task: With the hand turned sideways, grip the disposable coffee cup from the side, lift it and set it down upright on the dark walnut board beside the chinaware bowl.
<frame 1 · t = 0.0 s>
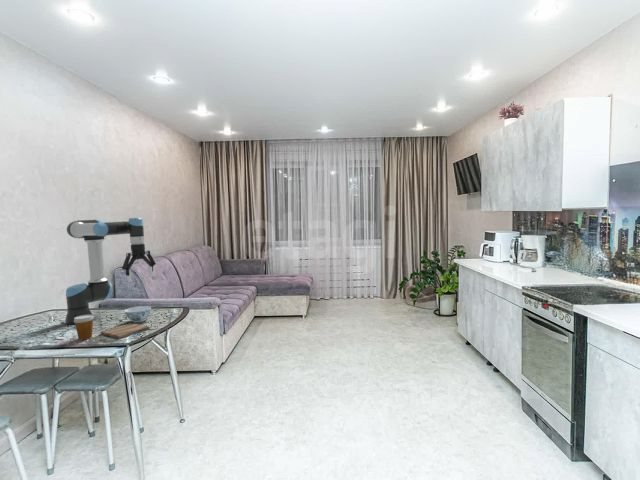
hand: (140, 279, 231), 28 cm above the table, tool pointing down, fingers open, 13 cm apart
chinaware: (138, 321, 242), on the table
walnut board: (125, 331, 220), on the table
disposable coffee cup: (85, 338, 211), on the table
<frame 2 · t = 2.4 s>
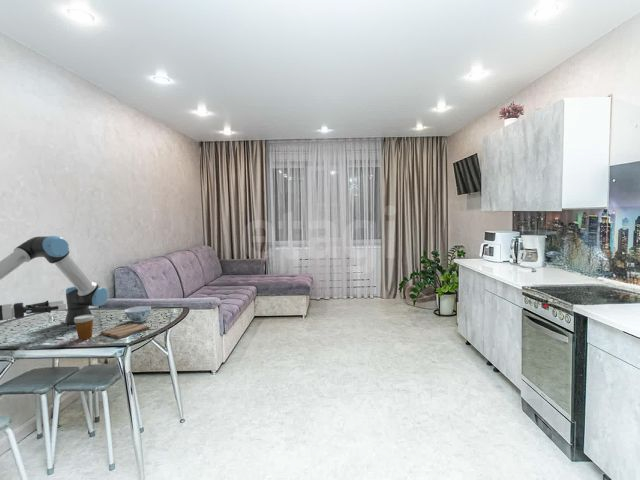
hand: (64, 304, 205), 20 cm above the table, tool horizontal, fingers open, 13 cm apart
nothing on the table moved.
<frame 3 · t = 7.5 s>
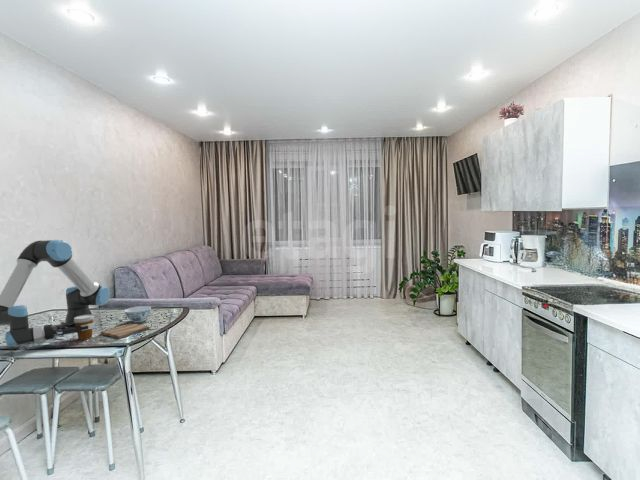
hand: (94, 323, 214), 7 cm above the table, tool horizontal, fingers closed on disposable coffee cup, 8 cm apart
disposable coffee cup: (85, 338, 211), on the table, touching gripper
everything else where it was.
when the fingers open (10 cm above the table, at t = 12.9 s): disposable coffee cup drops 1 cm, point 2 cm above the table.
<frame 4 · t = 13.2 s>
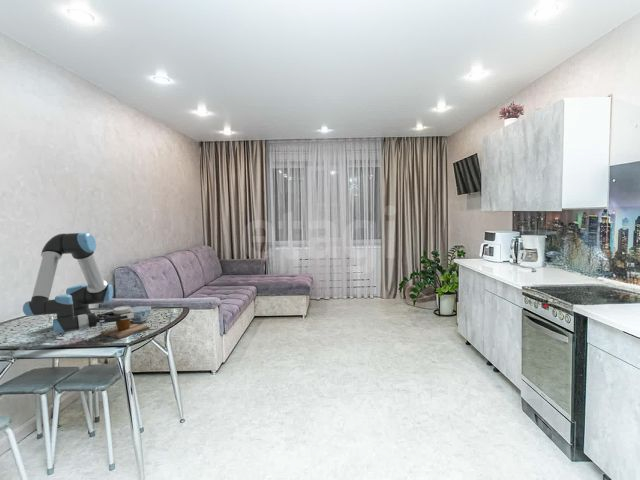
hand: (131, 313, 222), 10 cm above the table, tool horizontal, fingers open, 11 cm apart
disposable coffee cup: (123, 328, 221), point 2 cm above the table, touching gripper
everything else where it was.
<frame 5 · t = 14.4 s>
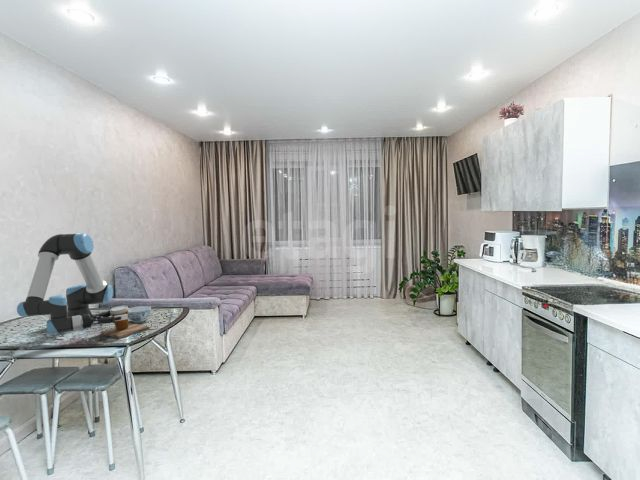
hand: (125, 314, 220), 10 cm above the table, tool horizontal, fingers open, 13 cm apart
disposable coffee cup: (122, 328, 222), point 2 cm above the table, touching gripper, walnut board
everything else where it was.
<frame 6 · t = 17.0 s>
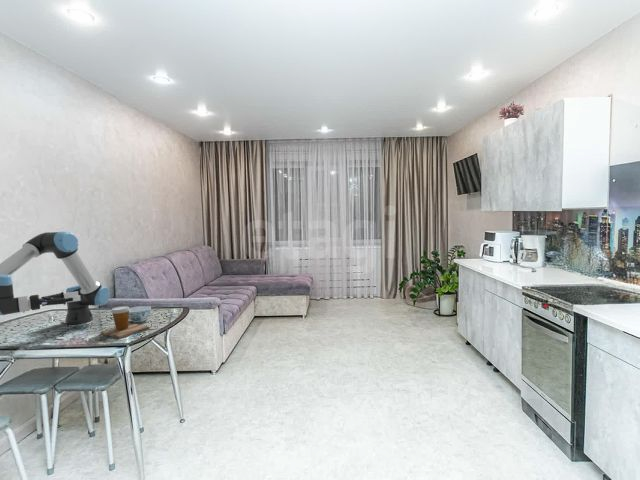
hand: (79, 295, 207), 24 cm above the table, tool horizontal, fingers open, 13 cm apart
disposable coffee cup: (122, 328, 222), point 1 cm above the table, touching walnut board
everything else where it was.
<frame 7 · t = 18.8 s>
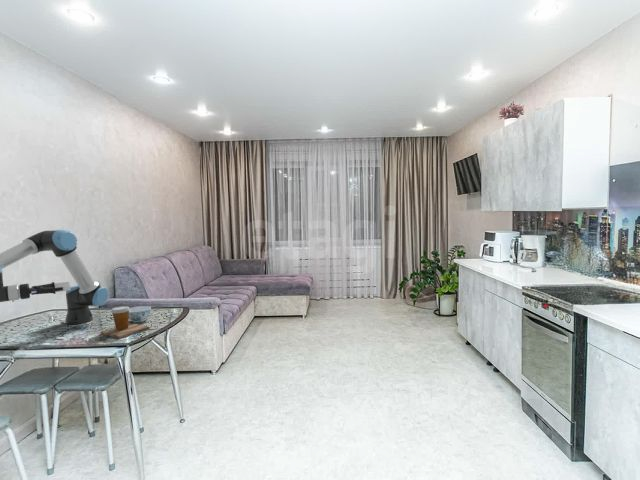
hand: (70, 285, 205), 30 cm above the table, tool horizontal, fingers open, 13 cm apart
nothing on the table moved.
at the end: disposable coffee cup inside the target area on the walnut board (3.1 cm from its centre), point 1.4 cm above the walnut board's base; disposable coffee cup tilted 2°; the gripper is holding nothing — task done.
